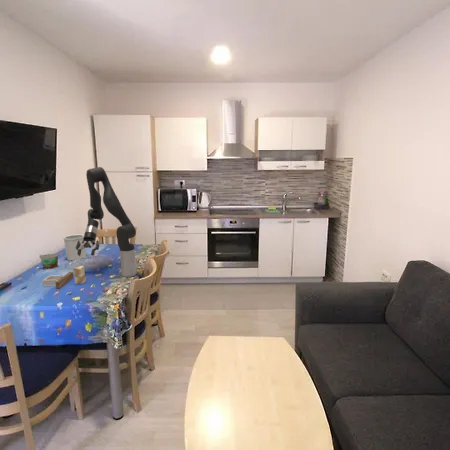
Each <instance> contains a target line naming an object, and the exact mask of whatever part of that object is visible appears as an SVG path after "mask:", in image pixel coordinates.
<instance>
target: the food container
mask: <svg viewBox="0 0 450 450" xmlns="http://www.w3.org/2000/svg"><path fill="white" fill-rule="evenodd" d="M58 257H59V253H58V252H57V253H47V254H39V259H40V261H41V264H42V268H43V269H44V270H52V269H55V268H58V267H59V258H58Z"/></svg>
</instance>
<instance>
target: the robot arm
mask: <svg viewBox="0 0 450 450" xmlns="http://www.w3.org/2000/svg"><path fill="white" fill-rule="evenodd" d="M85 176H86V181H87V187H88V191H89V206H90V208H89V209H88V211H87V224H86V228H85V231H84V234H83V235H84V238H83V241H82V242H80V241H78V242H77V245H76V249H77V250H78V253H77V254H78V256H80V255H81V250H83V249H84V248H85V249H87V248H88V249H90V248H92V249H91V253H90V256H92V257H93V256H94V255H95V253H96V251H98V250H99V248H100V244H101V243H100V240H98V239H97V235H98V229H99V224H100V223H99V221H101V220H102V219H103V218H104V217H105V215H104V210H103V207H102V202H103V204H104V207H105V208H106V210H107V212H108V213H110V214H111V215H112V216H113V217H114V218H116V220H118V221H119V223H120V226H118V227H117V228H116V239H117V244H118V245H117V246H118V248H119V259H120V265H121V267H120V269H121V276H122V277H125V278H129V277H130V278H131V277H136V275H137V274H138V265H137V264H138V262H137V259H136V251H135V250H136V249H135V244H134V243H130V239H133V238H135V236H136V234H137V231H136V228H135V226H134V224H133V222H132V221H131V219H130V218H129V217H128V215H127V213H126V211H125V210H124V208H123V206H122V204H121V202H120V199H119V198H118V196H117V193H116V192H115V191H114V188H113V186H112V184H111V181H110V180H109V177H108V175H107V172H106V170H105V169H104V168H103V167H102V166H98V167H94V168H88V169H87V170H86V175H85ZM100 182H101V184H102V185H103V186H102V187H103V195H102V196H101V194H100V193H99V191H98V190H97V189H96V187H95V184H96V183H100ZM81 244H82V245H81ZM80 245H81V246H80ZM83 246H84V247H83Z"/></svg>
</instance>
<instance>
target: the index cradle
mask: <svg viewBox="0 0 450 450" xmlns="http://www.w3.org/2000/svg"><path fill="white" fill-rule="evenodd" d="M62 277H63V275H62V274H57V275H48V276H47V277H45V278H44V279H42V280H41V282H42V286H43V287H52V286H53V287H56V282H57V281H58V280H59V279H61V278H62Z"/></svg>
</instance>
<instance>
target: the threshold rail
mask: <svg viewBox="0 0 450 450" xmlns="http://www.w3.org/2000/svg"><path fill="white" fill-rule="evenodd" d="M73 278H74V271H69V272H68V273H66V274H65V275H62V278H61V279H59V280H58V281H57V282H56V286H55V288H56V289H57V290H59V289H61V288H62V287H64V286H65V285H66V284H68V283H69V282H70V281H71V280H72V279H73Z"/></svg>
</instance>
